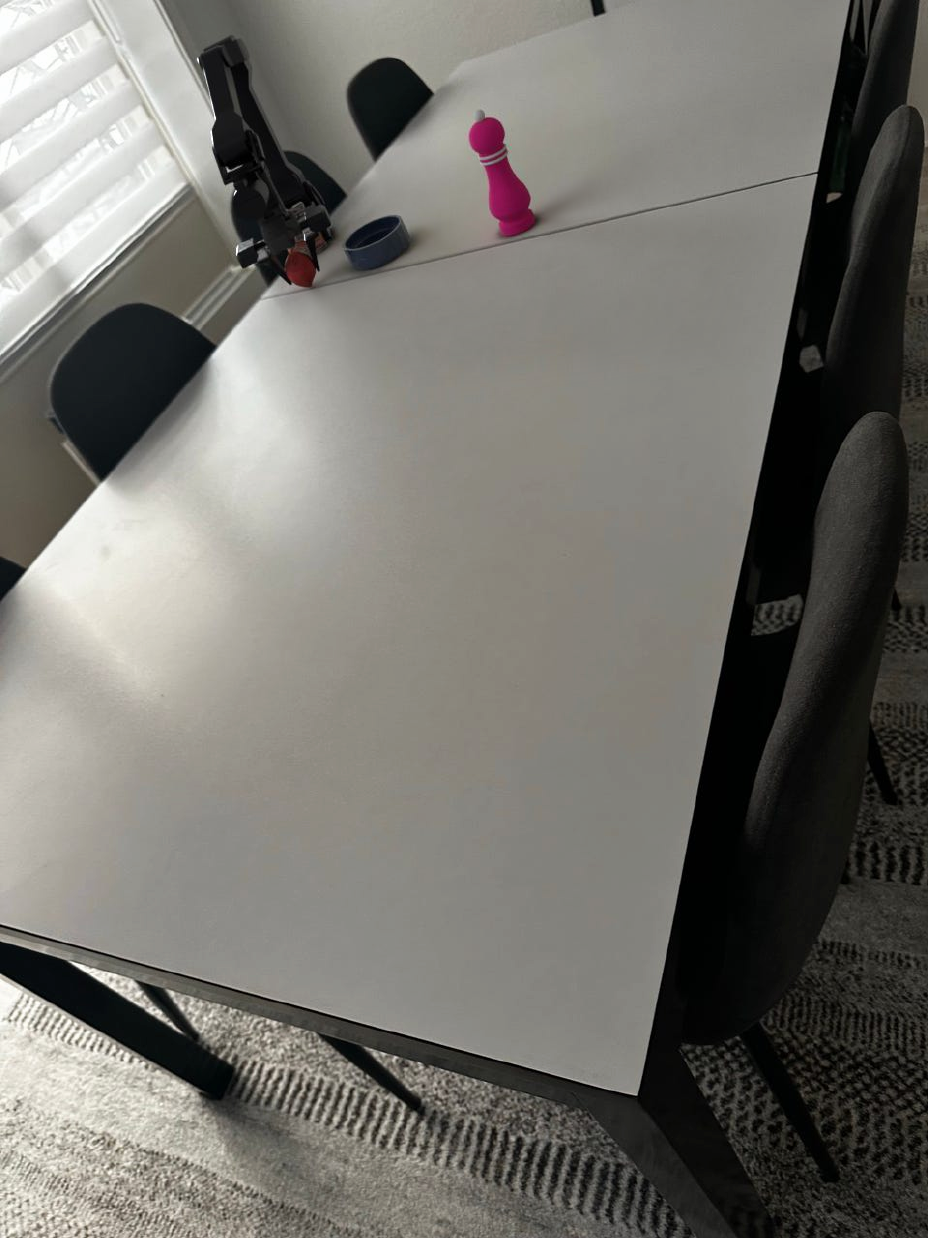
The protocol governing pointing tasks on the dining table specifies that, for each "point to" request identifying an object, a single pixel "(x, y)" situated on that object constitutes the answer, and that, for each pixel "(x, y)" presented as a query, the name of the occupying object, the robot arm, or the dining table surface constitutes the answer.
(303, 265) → the onion
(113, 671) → the dining table surface
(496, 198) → the pepper mill
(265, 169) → the robot arm
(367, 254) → the bowl
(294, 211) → the lighter
